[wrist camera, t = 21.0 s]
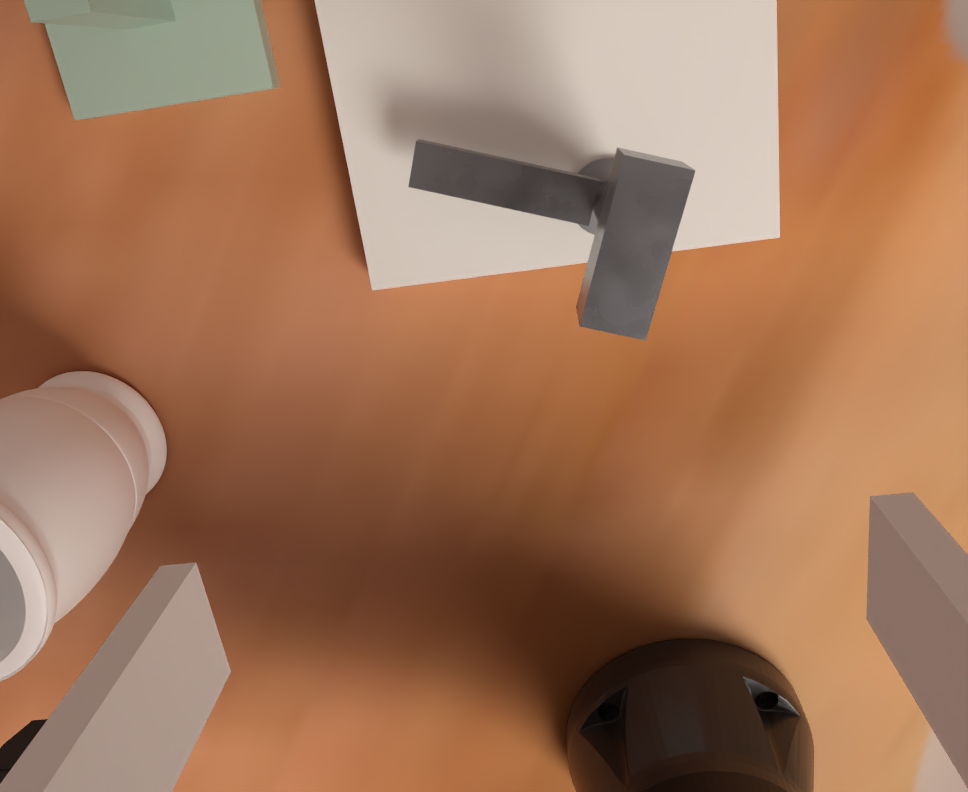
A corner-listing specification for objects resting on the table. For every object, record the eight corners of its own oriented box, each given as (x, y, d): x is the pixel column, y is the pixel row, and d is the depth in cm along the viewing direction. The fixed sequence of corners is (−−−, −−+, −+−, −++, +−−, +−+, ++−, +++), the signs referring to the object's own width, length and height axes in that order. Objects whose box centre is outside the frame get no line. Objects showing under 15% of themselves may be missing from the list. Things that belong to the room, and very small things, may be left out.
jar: (15, 328, 46) (-209, 445, 32) (199, 380, 46) (57, 517, 33) (4, 491, 50) (-200, 658, 36) (173, 536, 50) (37, 718, 37)
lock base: (768, 229, 42) (781, 238, 40) (379, 280, 44) (371, 291, 42) (757, -343, 33) (773, -370, 31) (276, -246, 35) (260, -266, 33)
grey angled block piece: (649, 138, 38) (695, 170, 27) (615, 265, 40) (645, 340, 30) (430, 90, 38) (390, 103, 27) (408, 220, 40) (363, 280, 29)
